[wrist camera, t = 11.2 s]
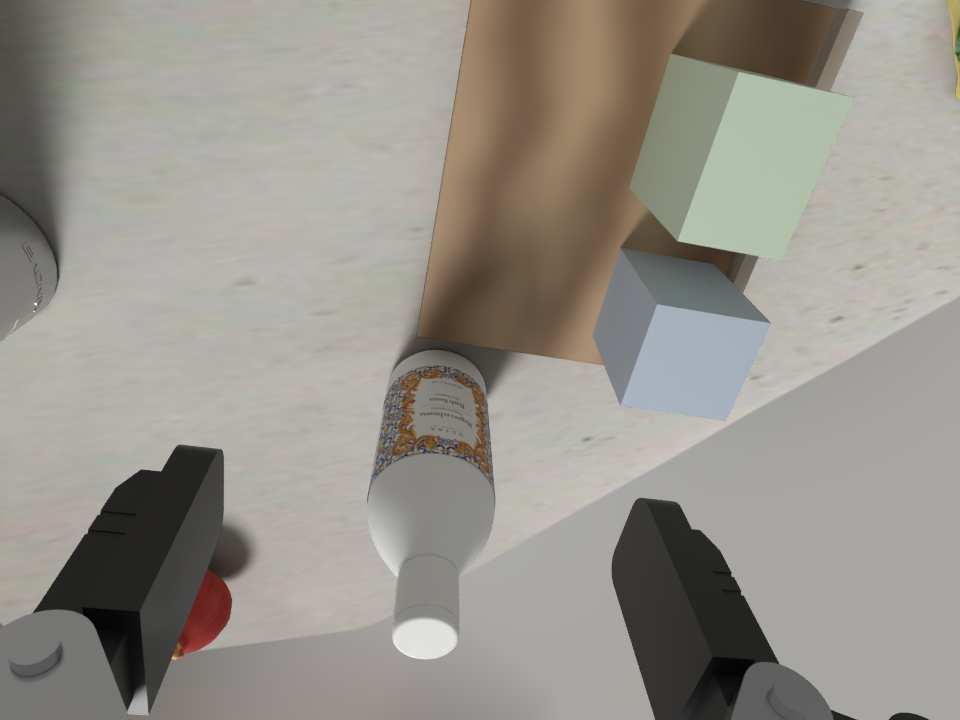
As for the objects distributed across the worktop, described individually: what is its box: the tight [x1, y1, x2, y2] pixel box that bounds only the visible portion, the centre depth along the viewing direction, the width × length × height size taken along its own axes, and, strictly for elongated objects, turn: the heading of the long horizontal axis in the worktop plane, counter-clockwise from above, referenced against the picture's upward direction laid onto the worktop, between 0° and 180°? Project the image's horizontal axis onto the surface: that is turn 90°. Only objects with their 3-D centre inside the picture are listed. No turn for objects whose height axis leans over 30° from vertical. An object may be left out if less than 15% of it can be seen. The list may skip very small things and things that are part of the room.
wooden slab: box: [417, 0, 863, 365], centre depth 36 cm, size 19×22×3 cm
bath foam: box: [367, 350, 495, 659], centre depth 36 cm, size 7×7×20 cm
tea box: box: [629, 54, 855, 260], centre depth 31 cm, size 5×7×9 cm
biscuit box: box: [592, 248, 771, 421], centre depth 36 cm, size 6×6×8 cm
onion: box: [171, 569, 232, 659], centre depth 49 cm, size 6×6×8 cm
